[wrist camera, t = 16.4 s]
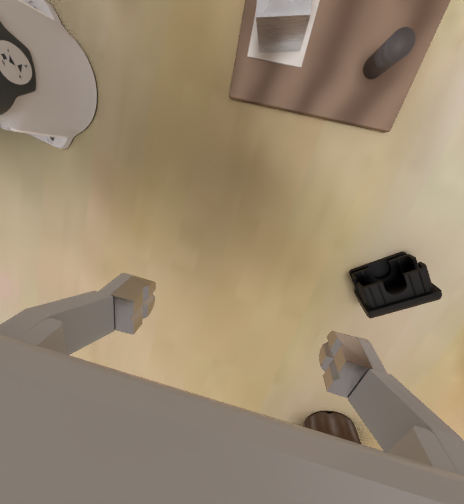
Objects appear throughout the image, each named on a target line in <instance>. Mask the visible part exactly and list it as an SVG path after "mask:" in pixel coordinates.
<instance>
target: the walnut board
mask: <svg viewBox="0 0 464 504" xmlns="http://www.w3.org/2000/svg"><path fill="white" fill-rule="evenodd" d="M449 2H450V0H312V8H311V15H310V19H309V22H308V26H307V29H306V33H305V36H304V40H303V43H302V47H301V50H300V51H292V52H259V44H258V34H257V24H256V6H257V0H245V6H244V12H243V18H242V24H241V30H240V36H239V42H238V48H237V53H236V59H235V65H234V71H233V77H232V83H231V89H230V95H229V97H230V98H231V99H233V100H238V101H243V102H247V103H252V104H256V105H261V106H266V107H270V108H275V109H279V110H284V111H288V112H293V113H298V114H302V115H307V116H311V117H316V118H320V119H325V120H330V121H334V122H339V123H343V124H348V125H353V126H357V127H362V128H366V129H371V130H375V131H380V132H389V131H390V130H391V128H392V126H393V124H394V121H395V119H396V117H397V115H398V113H399V111H400V108H401V106H402V104H403V102H404V100H405V98H406V95H407V93H408V91H409V89H410V87H411V85H412V82H413V80H414V78H415V76H416V74H417V72H418V69H419V67H420V65H421V63H422V61H423V59H424V56H425V54H426V52H427V50H428V48H429V46H430V43H431V41H432V39H433V37H434V35H435V33H436V30H437V28H438V26H439V24H440V22H441V20H442V17H443V15H444V13H445V11H446V9H447V7H448V4H449Z"/></svg>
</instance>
